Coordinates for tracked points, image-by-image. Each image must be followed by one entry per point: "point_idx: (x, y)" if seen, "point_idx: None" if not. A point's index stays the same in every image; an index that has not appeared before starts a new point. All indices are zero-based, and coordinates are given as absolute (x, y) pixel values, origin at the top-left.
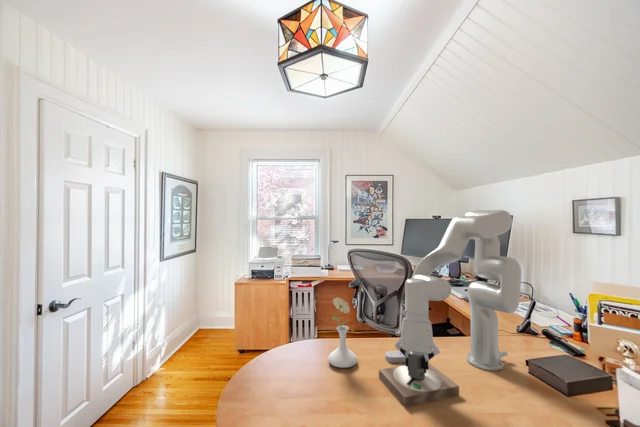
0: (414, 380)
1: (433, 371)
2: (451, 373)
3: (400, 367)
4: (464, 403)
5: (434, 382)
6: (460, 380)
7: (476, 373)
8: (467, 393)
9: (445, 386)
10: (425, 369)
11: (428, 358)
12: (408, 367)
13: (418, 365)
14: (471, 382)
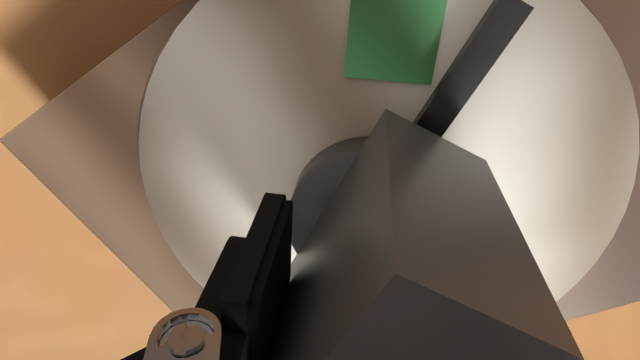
0: None
1: None
2: (131, 331)
3: None
4: (3, 8)
5: (206, 146)
6: (73, 276)
7: (3, 346)
8: None
9: (105, 105)
10: (262, 220)
11: (151, 355)
12: (511, 217)
13: (358, 232)
14: (10, 266)
